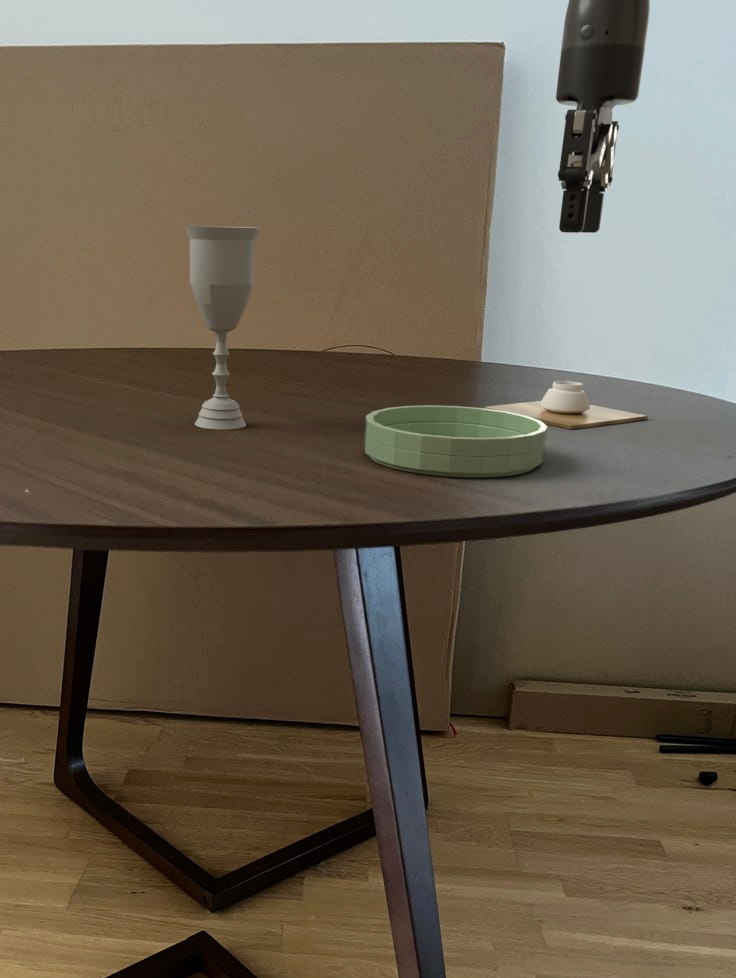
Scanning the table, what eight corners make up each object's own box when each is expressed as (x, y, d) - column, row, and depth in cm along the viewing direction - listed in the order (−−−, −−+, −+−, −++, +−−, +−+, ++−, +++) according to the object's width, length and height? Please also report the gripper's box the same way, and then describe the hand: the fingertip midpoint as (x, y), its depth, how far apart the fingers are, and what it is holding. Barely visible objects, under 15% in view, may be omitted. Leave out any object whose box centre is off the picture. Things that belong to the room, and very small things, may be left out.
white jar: (594, 410, 111) (548, 405, 113) (598, 382, 110) (552, 378, 112) (580, 417, 107) (533, 411, 109) (584, 388, 106) (537, 383, 108)
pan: (454, 434, 99) (457, 400, 98) (579, 466, 87) (585, 428, 86) (328, 449, 91) (330, 413, 90) (448, 487, 79) (452, 445, 78)
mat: (559, 402, 118) (559, 398, 118) (647, 419, 109) (647, 415, 109) (484, 410, 112) (484, 406, 112) (570, 429, 102) (571, 425, 102)
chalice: (223, 434, 96) (226, 227, 89) (169, 424, 100) (167, 225, 93) (270, 424, 102) (276, 228, 95) (217, 415, 105) (218, 226, 98)
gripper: (633, 31, 89) (606, 233, 95) (655, 54, 100) (629, 233, 107) (545, 36, 92) (524, 232, 98) (577, 58, 103) (556, 231, 110)
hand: (579, 232), depth 102 cm, fingers open, 8 cm apart
